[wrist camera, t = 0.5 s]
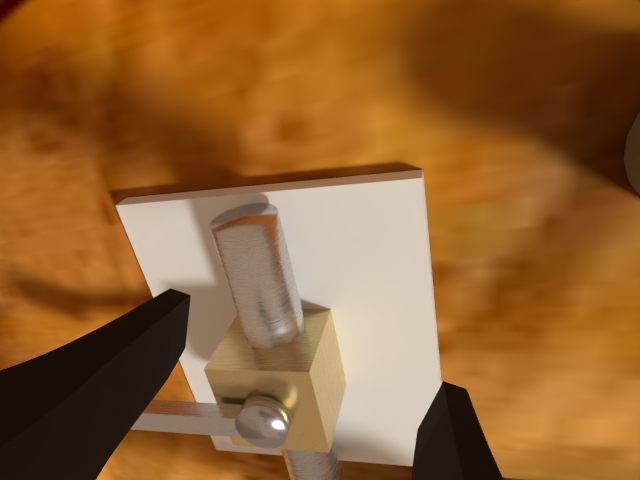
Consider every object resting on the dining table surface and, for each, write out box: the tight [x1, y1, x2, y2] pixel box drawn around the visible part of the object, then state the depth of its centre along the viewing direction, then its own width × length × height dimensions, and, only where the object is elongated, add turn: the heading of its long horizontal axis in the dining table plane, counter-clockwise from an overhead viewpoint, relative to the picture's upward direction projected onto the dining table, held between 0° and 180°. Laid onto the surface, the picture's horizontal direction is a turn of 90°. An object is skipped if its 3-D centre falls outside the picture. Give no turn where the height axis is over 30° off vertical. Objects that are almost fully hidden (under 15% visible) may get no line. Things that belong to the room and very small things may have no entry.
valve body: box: [204, 203, 346, 480], centre depth 23 cm, size 17×5×4 cm, turn 11°
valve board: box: [116, 169, 442, 466], centre depth 25 cm, size 18×15×1 cm
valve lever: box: [131, 396, 292, 448], centre depth 21 cm, size 11×2×3 cm, turn 100°
